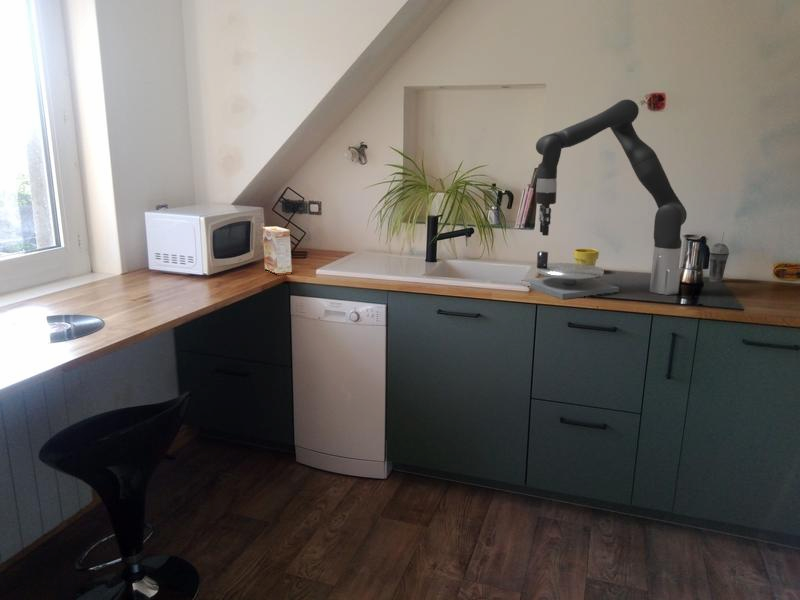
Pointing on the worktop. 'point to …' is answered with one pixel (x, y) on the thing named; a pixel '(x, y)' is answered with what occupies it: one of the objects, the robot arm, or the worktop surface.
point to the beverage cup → (718, 261)
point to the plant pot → (586, 256)
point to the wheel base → (570, 287)
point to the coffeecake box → (277, 249)
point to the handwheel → (566, 269)
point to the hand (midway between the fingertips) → (544, 233)
